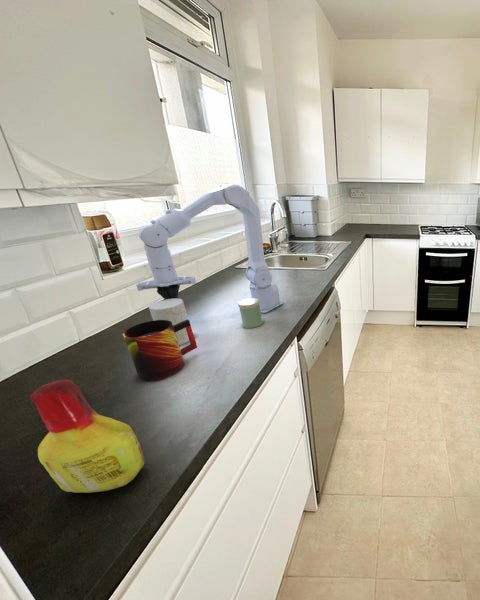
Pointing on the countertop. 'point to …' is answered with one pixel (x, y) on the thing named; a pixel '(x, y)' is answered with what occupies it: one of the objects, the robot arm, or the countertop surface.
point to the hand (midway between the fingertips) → (174, 308)
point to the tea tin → (250, 312)
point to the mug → (157, 348)
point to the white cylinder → (171, 315)
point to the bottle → (84, 442)
